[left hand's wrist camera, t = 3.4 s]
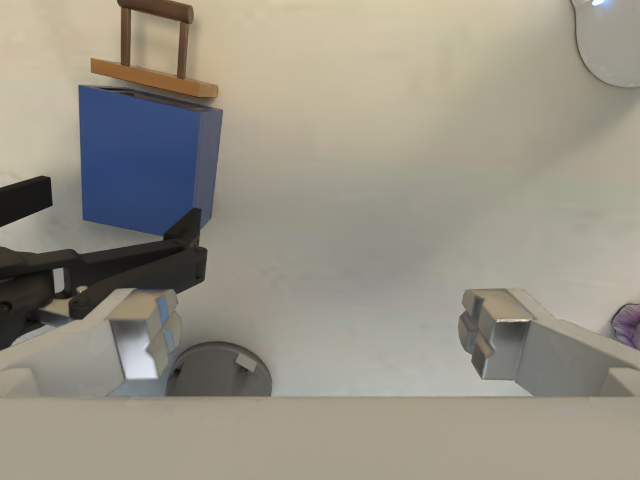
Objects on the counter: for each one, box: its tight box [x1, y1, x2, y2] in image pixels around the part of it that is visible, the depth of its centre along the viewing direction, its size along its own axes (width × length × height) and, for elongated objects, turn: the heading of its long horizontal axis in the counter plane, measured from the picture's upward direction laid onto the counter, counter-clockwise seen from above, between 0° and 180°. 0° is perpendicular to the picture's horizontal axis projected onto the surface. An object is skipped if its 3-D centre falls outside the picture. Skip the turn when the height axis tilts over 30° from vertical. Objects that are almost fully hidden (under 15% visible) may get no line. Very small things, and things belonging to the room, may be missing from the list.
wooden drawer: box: [91, 0, 218, 110], centre depth 36 cm, size 18×10×6 cm, turn 168°
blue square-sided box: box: [78, 85, 223, 236], centre depth 38 cm, size 13×11×8 cm
